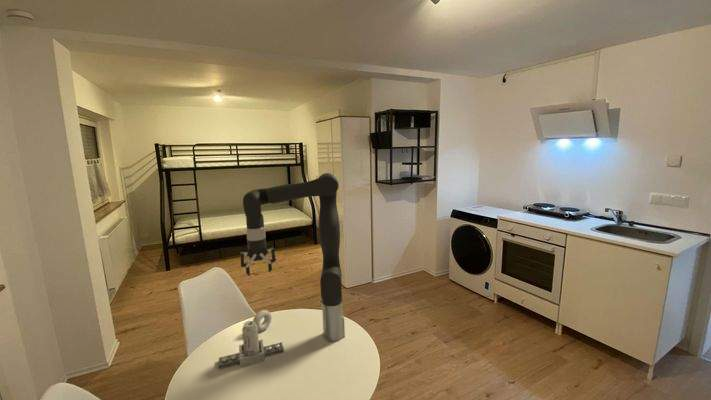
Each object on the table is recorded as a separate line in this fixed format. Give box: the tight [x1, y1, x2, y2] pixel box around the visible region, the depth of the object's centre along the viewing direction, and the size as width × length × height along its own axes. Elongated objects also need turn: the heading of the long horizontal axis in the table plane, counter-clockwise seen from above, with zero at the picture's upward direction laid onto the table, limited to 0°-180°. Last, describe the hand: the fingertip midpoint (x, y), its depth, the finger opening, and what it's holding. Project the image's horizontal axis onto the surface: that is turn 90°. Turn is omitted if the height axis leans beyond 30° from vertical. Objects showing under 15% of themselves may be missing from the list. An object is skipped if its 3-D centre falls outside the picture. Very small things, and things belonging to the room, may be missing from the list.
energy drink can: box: [241, 320, 261, 357], centre depth 128 cm, size 6×6×15 cm
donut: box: [252, 309, 272, 332], centre depth 147 cm, size 10×4×10 cm, turn 144°
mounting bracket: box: [218, 339, 285, 370], centre depth 129 cm, size 26×10×4 cm, turn 112°
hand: (259, 273), depth 133 cm, fingers open, 8 cm apart
